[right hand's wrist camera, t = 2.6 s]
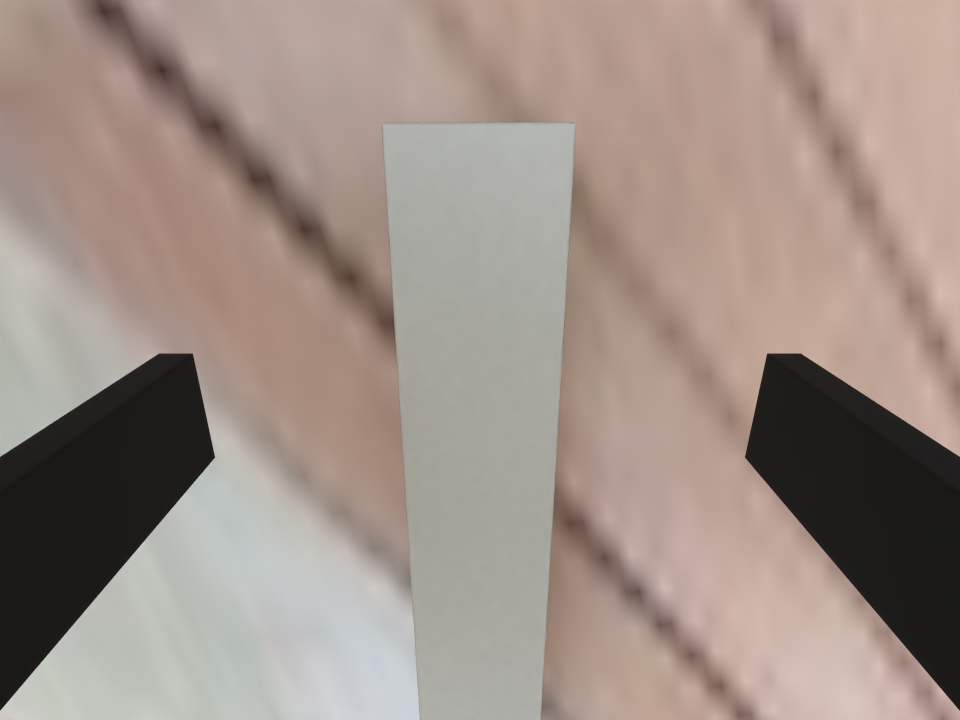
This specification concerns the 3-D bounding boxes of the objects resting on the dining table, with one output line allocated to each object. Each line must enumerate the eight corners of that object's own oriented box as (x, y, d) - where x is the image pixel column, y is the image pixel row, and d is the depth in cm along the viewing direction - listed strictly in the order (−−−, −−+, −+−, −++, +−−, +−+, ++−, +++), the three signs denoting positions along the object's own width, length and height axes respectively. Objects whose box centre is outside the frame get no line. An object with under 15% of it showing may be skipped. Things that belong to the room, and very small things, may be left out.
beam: (413, 130, 23) (380, 122, 15) (544, 129, 23) (576, 122, 15) (447, 895, 45) (441, 1049, 37) (514, 895, 45) (521, 1048, 37)
